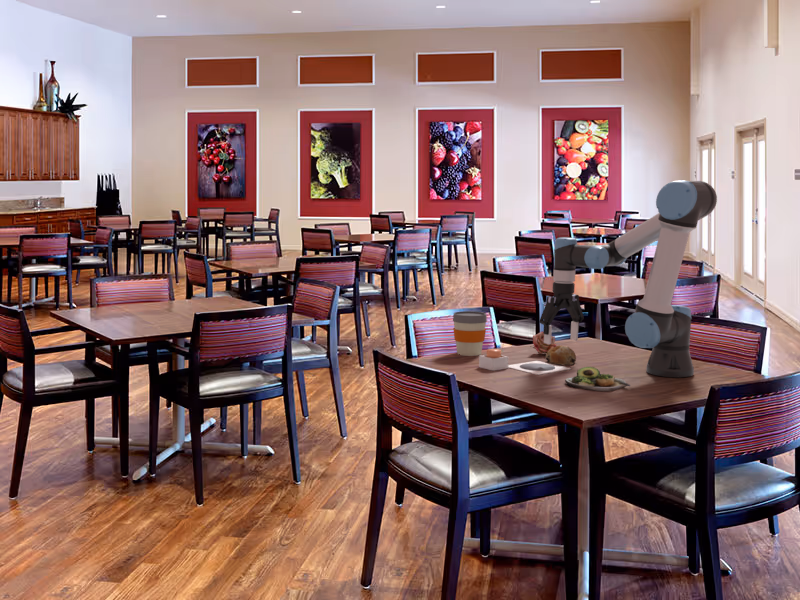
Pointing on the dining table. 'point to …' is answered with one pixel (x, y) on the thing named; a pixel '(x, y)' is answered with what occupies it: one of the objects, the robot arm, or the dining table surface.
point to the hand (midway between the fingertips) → (560, 341)
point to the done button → (493, 353)
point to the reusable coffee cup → (469, 332)
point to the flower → (542, 343)
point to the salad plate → (595, 380)
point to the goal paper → (537, 367)
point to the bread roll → (561, 356)
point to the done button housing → (493, 362)
